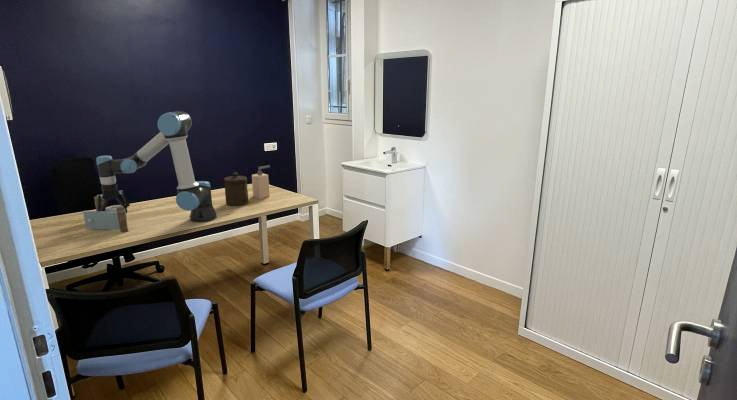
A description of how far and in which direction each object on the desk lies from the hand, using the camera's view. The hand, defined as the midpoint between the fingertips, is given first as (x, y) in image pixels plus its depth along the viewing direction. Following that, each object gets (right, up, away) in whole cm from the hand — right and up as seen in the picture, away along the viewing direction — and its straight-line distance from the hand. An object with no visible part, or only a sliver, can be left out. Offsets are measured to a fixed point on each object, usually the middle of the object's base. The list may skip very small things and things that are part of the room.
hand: (115, 220), depth 233 cm
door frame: (-2, -3, 0) cm, 3 cm away
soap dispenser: (+69, +15, +64) cm, 95 cm away
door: (-1, -4, -8) cm, 10 cm away
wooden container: (+56, +9, +44) cm, 72 cm away
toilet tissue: (-1, -1, 0) cm, 1 cm away
